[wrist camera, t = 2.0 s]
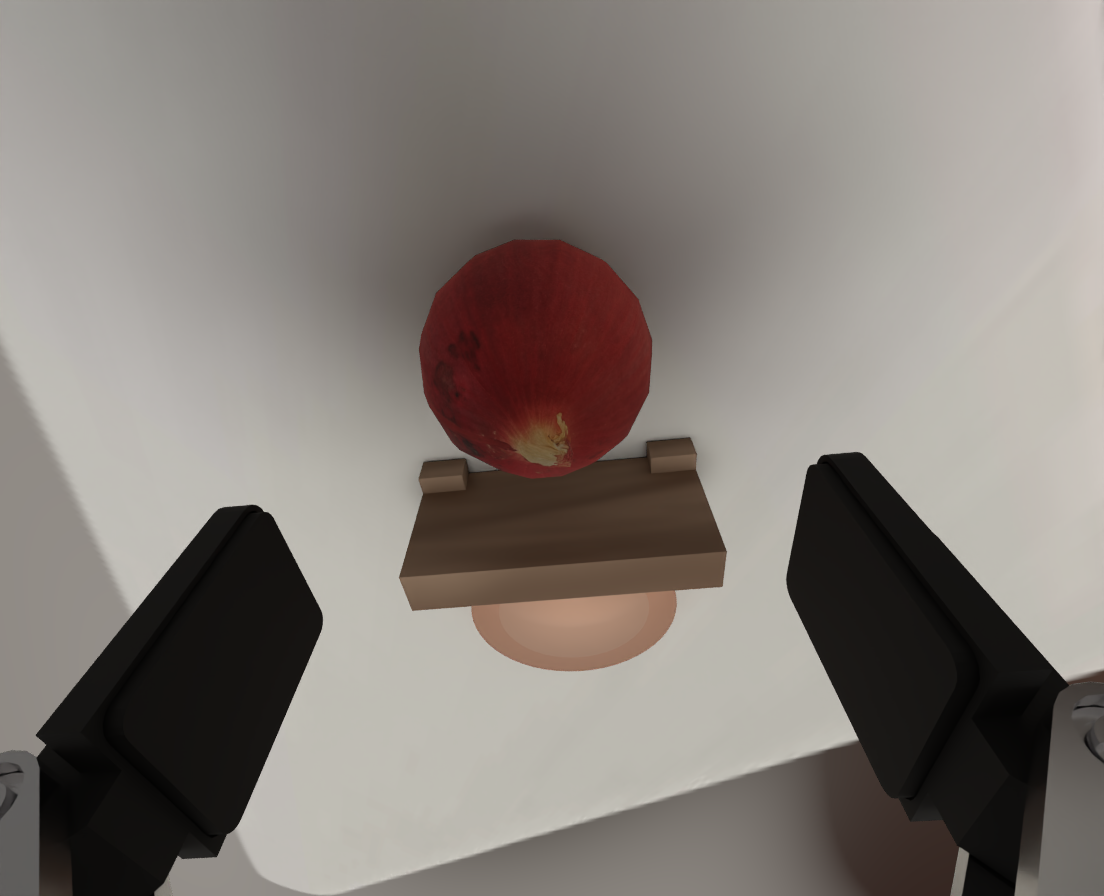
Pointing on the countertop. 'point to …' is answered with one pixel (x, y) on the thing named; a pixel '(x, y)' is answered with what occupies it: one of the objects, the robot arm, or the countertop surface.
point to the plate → (577, 629)
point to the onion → (536, 358)
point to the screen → (562, 532)
